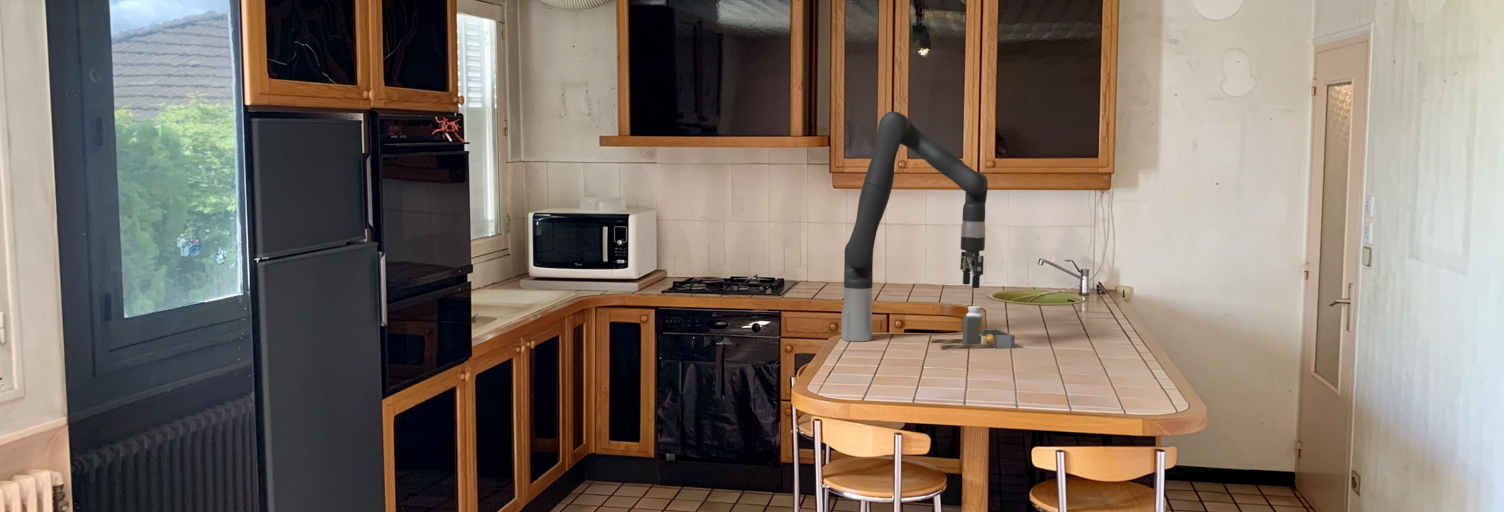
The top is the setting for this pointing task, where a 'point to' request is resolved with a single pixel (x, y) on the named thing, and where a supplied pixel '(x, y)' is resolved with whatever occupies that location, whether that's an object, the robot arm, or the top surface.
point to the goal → (1001, 338)
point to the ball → (990, 338)
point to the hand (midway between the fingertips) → (970, 286)
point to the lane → (959, 346)
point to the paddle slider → (972, 331)
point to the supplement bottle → (975, 312)
